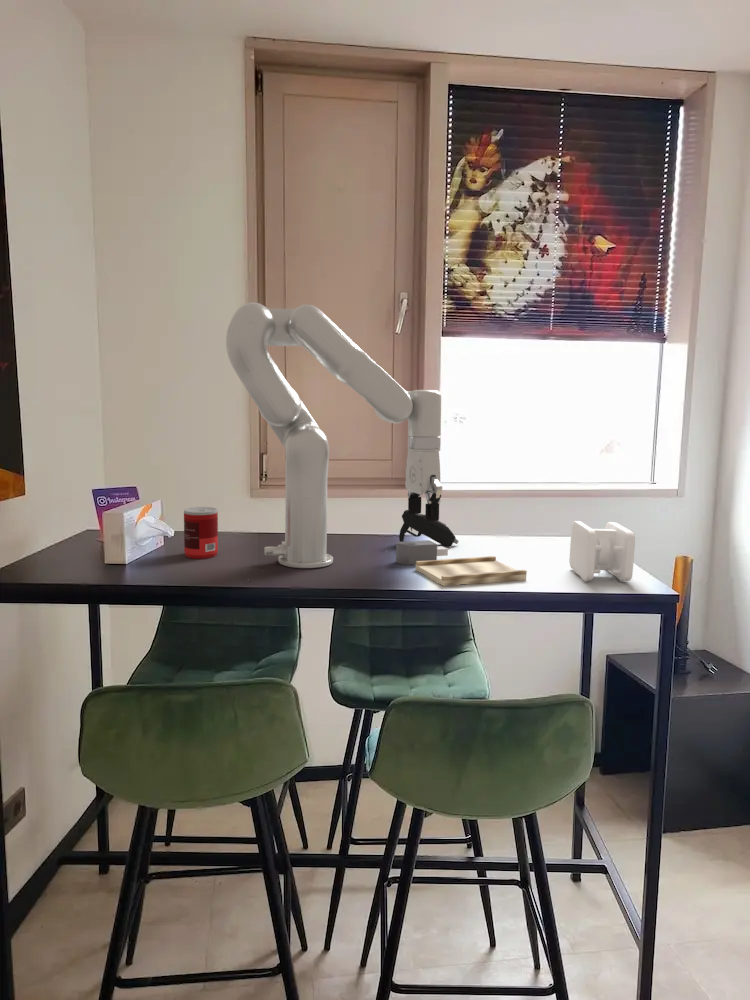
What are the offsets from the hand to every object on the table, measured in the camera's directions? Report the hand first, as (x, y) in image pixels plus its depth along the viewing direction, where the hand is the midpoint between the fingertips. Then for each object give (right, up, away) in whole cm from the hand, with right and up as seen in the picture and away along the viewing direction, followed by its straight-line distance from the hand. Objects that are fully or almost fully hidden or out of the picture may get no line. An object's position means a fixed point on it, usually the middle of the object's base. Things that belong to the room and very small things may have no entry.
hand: (423, 517), depth 166 cm
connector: (-1, -11, +2) cm, 11 cm away
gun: (+3, -8, +20) cm, 22 cm away
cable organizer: (+39, -13, -7) cm, 42 cm away
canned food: (-52, -9, +2) cm, 53 cm away
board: (+10, -13, -9) cm, 18 cm away
